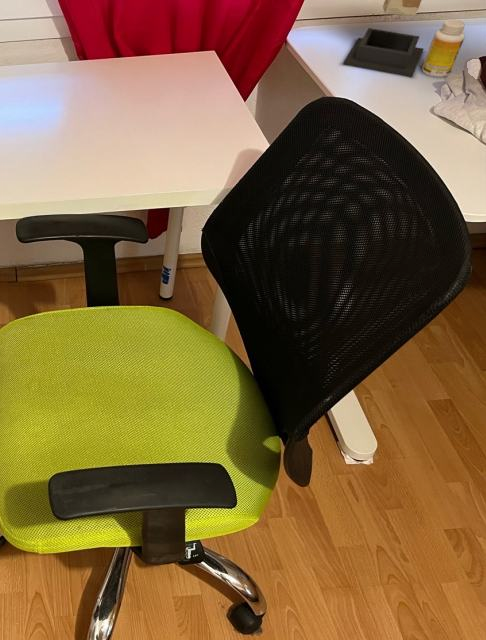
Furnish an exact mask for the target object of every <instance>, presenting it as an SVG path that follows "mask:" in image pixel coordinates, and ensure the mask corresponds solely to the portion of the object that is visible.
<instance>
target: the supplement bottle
mask: <svg viewBox="0 0 486 640" xmlns="http://www.w3.org/2000/svg"><path fill="white" fill-rule="evenodd" d="M465 27H466V23H465V22H464V21H462V20H459V19H455V18H450V19H446V20H444V22H443V24H442V26H441V27H440V28H439V29H438V30H436V31H435V33H434V35H433V37H432V40H431V43H430V46H429V48H428V50H427V52H426V56H425V58H424V60H423V64H422V66H421V71H422V72H423V74H425V75H428V76H431V77H436V78H442V77H446V76H448V75H449V74H450V73H451V72H452V70H453V66H454V64H455V62H456V59H457V57H458V55H459V52H460V50H461V47H462V45H463V43H464V40H465V37H466V35H465V33H464V30H465Z"/></svg>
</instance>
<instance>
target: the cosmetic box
mask: <svg viewBox="0 0 486 640" xmlns="http://www.w3.org/2000/svg"><path fill="white" fill-rule="evenodd" d="M421 3H422V0H384V2H383V5H382V9H383V12H384V14H385V15H395V16H396V15H397V16H399V15H400V16H411V17H416V16H417V13H418V11H419V8H420V6H421Z"/></svg>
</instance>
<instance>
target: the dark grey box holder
mask: <svg viewBox="0 0 486 640" xmlns="http://www.w3.org/2000/svg"><path fill="white" fill-rule="evenodd" d="M419 38H420V36H419V35H413V34H408V33H401V32H396V31H395V32H394V31H389V30H383V29H378V28H377V29H375V28H370V27H368V28H367V30H366V32H365V34H364V35H363V37H357V38H356V40H355V42H354V44H353V46H352V47H351V49H350V51H349V52H348V54H347V56H346V58H345V59H344V61H343V66H348V67H354V68H358V69H366V70H369V71H375V72H379V73H386V74H392V75H397V76H402V77H407V78H413V76H414V73H415V71H416V69H417V66H418V64H419V62H420V59H421V57H422V54H423V52H424V50H425V48H422V47H417V45H418V42H419Z"/></svg>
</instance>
